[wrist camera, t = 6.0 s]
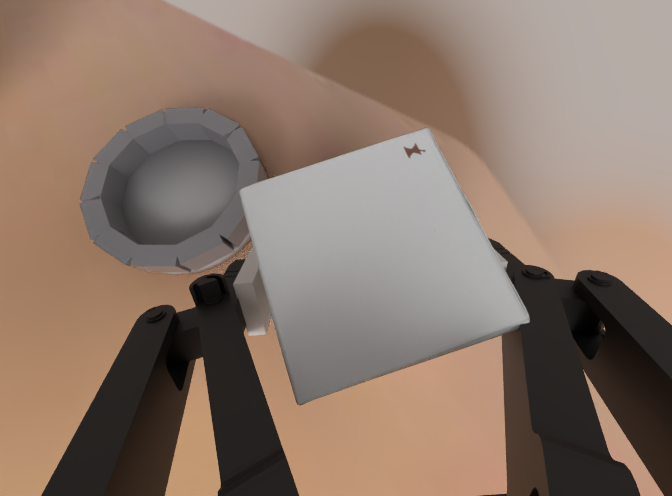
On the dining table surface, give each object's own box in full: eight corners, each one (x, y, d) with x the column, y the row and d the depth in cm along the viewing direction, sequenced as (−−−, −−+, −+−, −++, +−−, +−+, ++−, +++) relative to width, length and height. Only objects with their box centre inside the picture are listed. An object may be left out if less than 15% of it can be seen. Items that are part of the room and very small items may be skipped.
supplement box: (296, 265, 22) (232, 180, 10) (387, 235, 22) (435, 117, 10) (326, 364, 20) (290, 414, 7) (425, 329, 20) (545, 322, 8)
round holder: (82, 225, 23) (45, 210, 21) (182, 112, 26) (161, 85, 23) (203, 306, 21) (181, 302, 18) (298, 172, 24) (291, 150, 21)
